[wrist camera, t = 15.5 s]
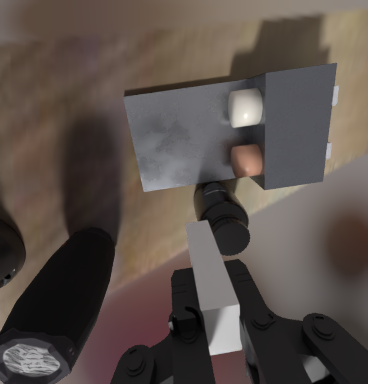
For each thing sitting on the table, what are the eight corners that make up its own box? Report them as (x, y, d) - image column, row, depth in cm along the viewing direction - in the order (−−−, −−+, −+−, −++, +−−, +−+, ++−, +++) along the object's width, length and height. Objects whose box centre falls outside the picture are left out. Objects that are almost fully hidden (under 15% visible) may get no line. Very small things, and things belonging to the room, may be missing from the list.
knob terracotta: (231, 173, 33) (240, 182, 29) (230, 144, 32) (239, 150, 27) (314, 160, 33) (334, 168, 29) (316, 131, 32) (338, 135, 28)
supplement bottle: (213, 171, 35) (234, 202, 24) (240, 197, 37) (271, 237, 26) (184, 200, 36) (191, 242, 25) (211, 224, 38) (229, 272, 27)
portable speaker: (58, 230, 37) (-48, 349, 19) (112, 220, 37) (58, 330, 19) (76, 269, 40) (0, 403, 22) (125, 260, 40) (90, 386, 22)
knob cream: (229, 126, 31) (238, 129, 26) (227, 92, 29) (237, 90, 25) (318, 113, 31) (341, 114, 27) (322, 78, 29) (347, 74, 25)
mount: (144, 189, 35) (138, 209, 29) (124, 97, 30) (111, 94, 23) (294, 167, 36) (322, 181, 29) (300, 71, 30) (337, 62, 24)
